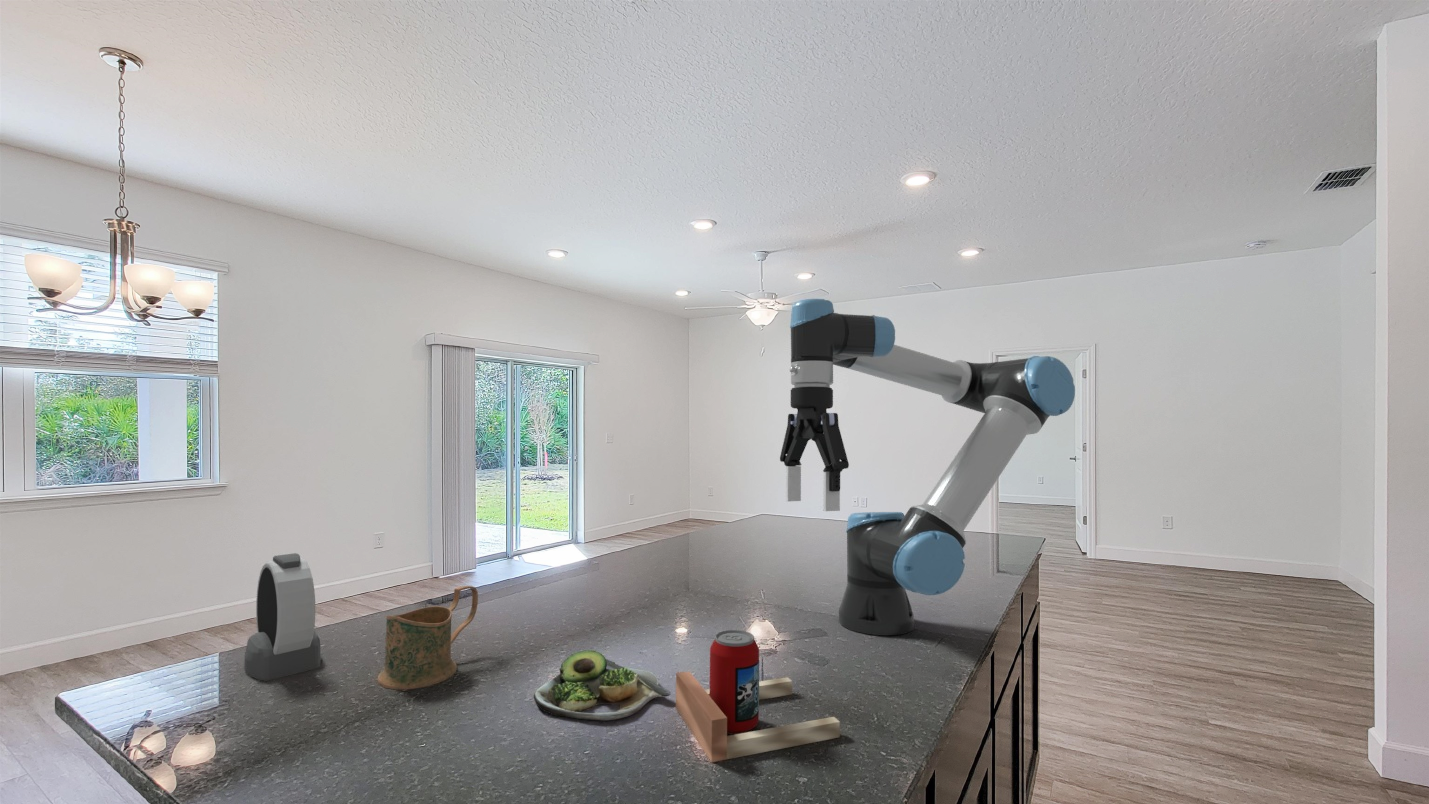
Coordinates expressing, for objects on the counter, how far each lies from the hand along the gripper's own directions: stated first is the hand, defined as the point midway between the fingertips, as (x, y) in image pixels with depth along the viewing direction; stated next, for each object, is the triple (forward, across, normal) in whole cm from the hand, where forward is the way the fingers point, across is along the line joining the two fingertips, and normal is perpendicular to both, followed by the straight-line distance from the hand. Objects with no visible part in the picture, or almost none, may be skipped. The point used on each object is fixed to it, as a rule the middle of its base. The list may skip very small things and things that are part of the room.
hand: (811, 505), depth 109 cm
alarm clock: (+27, -27, -86) cm, 94 cm away
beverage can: (+27, +18, -22) cm, 39 cm away
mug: (+27, -17, -62) cm, 70 cm away
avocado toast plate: (+27, +2, -38) cm, 47 cm away
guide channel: (+27, +18, -19) cm, 37 cm away
